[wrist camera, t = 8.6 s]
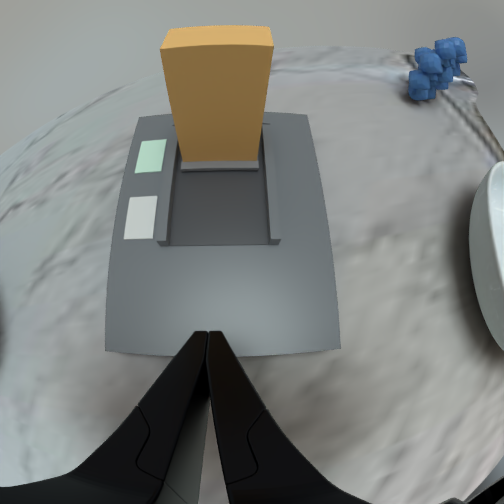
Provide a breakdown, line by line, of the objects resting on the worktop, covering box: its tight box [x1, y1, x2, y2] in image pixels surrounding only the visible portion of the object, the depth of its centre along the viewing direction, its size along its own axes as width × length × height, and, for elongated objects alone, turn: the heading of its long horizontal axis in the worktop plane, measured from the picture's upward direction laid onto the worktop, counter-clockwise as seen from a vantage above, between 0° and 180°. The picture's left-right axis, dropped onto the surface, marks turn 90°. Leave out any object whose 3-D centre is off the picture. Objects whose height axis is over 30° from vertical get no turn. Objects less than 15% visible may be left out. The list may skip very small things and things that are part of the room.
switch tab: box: [160, 25, 274, 172], centre depth 14 cm, size 4×5×9 cm
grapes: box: [408, 37, 467, 100], centre depth 22 cm, size 12×7×12 cm, turn 122°
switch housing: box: [105, 112, 341, 357], centre depth 18 cm, size 18×14×4 cm
